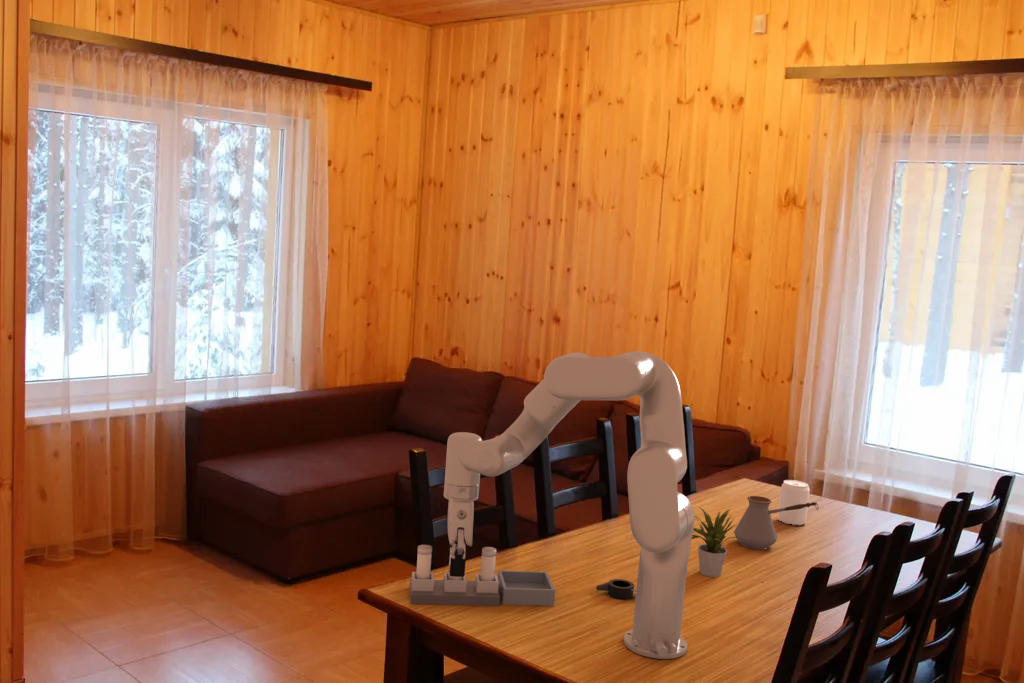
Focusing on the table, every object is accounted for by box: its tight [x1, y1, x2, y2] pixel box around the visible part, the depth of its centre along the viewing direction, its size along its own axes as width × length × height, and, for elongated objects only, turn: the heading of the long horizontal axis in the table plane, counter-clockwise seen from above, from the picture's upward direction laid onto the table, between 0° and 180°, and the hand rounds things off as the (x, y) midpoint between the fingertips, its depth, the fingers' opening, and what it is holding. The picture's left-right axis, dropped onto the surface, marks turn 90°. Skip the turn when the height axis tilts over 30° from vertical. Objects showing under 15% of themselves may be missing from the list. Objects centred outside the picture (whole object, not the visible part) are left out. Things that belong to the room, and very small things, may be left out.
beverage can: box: [777, 479, 811, 526], centre depth 291 cm, size 8×8×12 cm
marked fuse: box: [447, 547, 462, 580], centre depth 213 cm, size 3×3×9 cm
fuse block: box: [409, 571, 501, 607], centre depth 213 cm, size 9×19×4 cm, turn 97°
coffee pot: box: [733, 495, 819, 550], centre depth 264 cm, size 21×12×15 cm, turn 61°
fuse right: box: [480, 546, 497, 581], centre depth 214 cm, size 3×3×9 cm
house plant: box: [692, 506, 739, 578], centre depth 242 cm, size 14×14×16 cm
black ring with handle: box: [595, 578, 636, 601], centre depth 222 cm, size 8×10×3 cm
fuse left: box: [415, 544, 433, 579], centre depth 212 cm, size 3×3×9 cm
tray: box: [497, 569, 556, 607], centre depth 217 cm, size 11×11×4 cm
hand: (455, 569), depth 213 cm, fingers open, 7 cm apart
